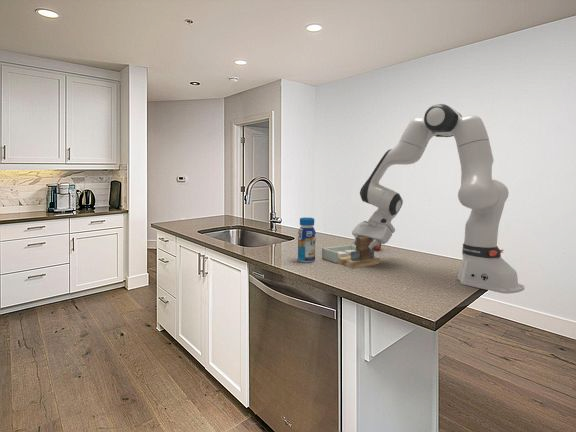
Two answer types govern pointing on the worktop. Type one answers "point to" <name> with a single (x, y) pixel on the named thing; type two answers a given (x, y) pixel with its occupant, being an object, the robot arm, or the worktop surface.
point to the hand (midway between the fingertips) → (361, 246)
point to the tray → (335, 252)
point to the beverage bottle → (306, 240)
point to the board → (358, 262)
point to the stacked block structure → (362, 250)
